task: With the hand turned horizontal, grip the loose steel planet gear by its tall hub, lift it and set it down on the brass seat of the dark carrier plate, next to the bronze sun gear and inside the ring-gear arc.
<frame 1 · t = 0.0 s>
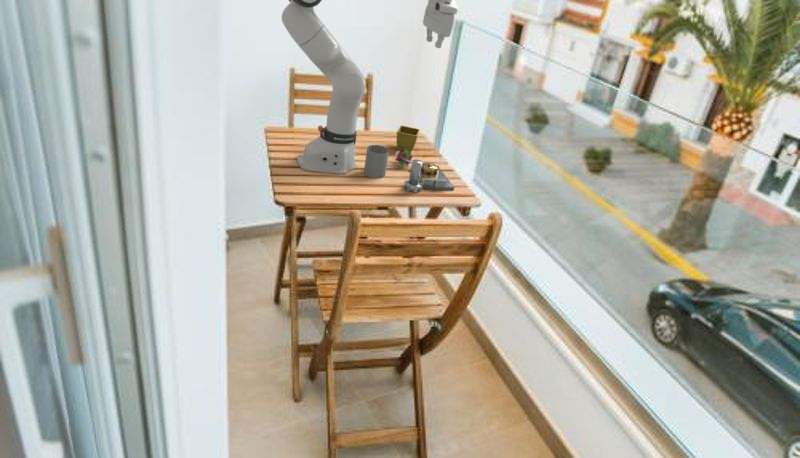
hand: (433, 44, 187), 48 cm above the table, tool pointing down, fingers open, 8 cm apart
cup: (374, 173, 199), on the table
carrier: (431, 179, 202), on the table
sun gear: (428, 173, 207), resting on carrier
geometric puzzle: (402, 165, 210), on the table
flower pot: (405, 150, 225), on the table
planet gear: (412, 188, 193), on the table
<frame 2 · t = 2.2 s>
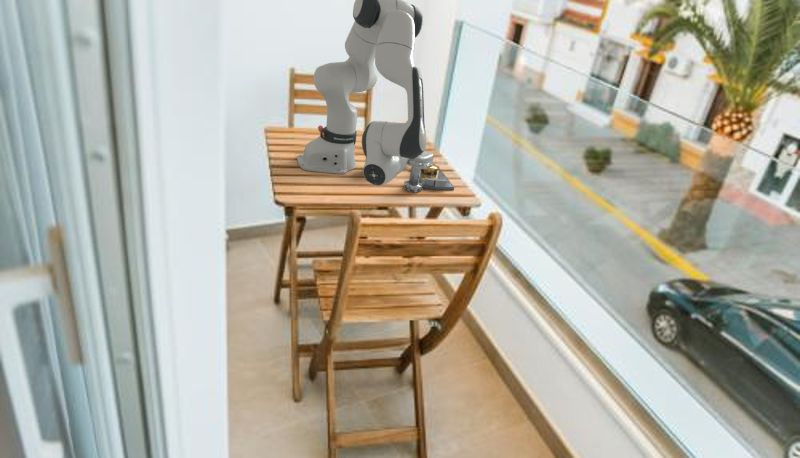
hand: (410, 146, 173), 20 cm above the table, tool horizontal, fingers open, 8 cm apart
nothing on the table moved.
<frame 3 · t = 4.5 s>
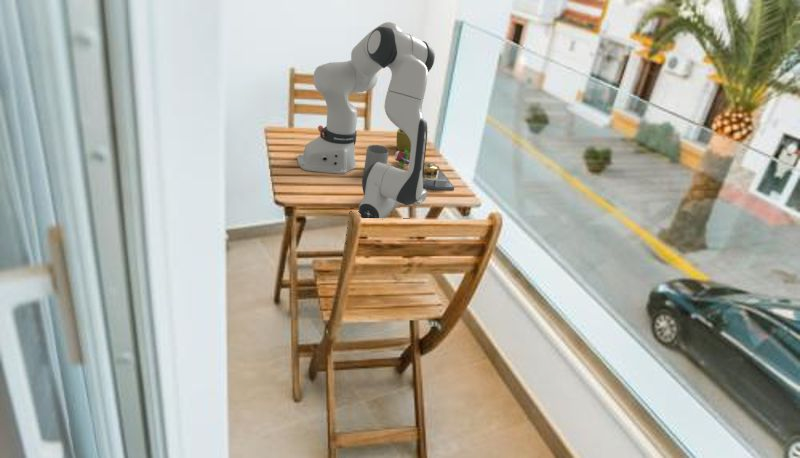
hand: (405, 181, 183), 6 cm above the table, tool horizontal, fingers open, 8 cm apart
nothing on the table moved.
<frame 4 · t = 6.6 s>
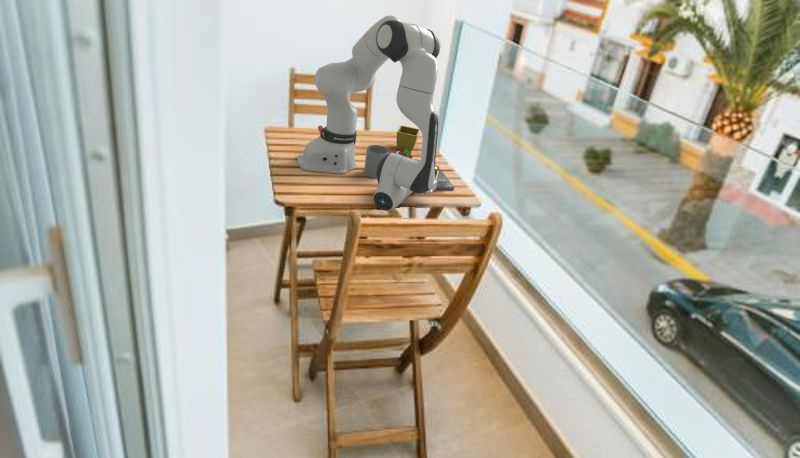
hand: (416, 171, 191), 7 cm above the table, tool horizontal, fingers closed on planet gear, 4 cm apart
planet gear: (412, 188, 193), on the table, touching gripper
everything else where it was.
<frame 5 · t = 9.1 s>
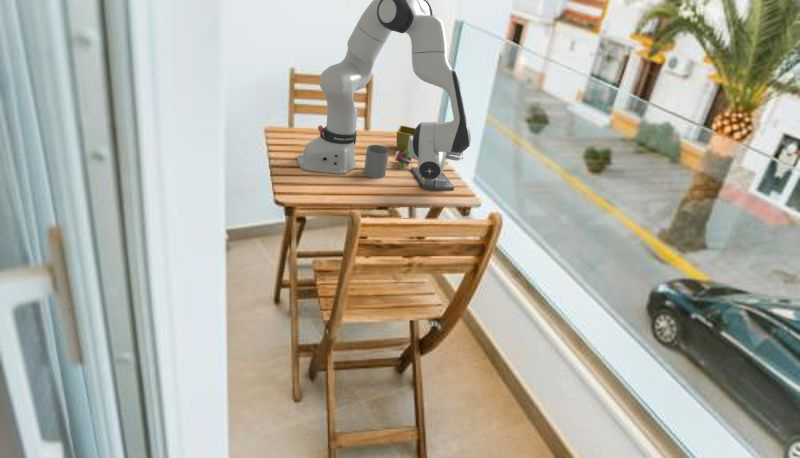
hand: (437, 140, 192), 17 cm above the table, tool horizontal, fingers closed on planet gear, 4 cm apart
planet gear: (433, 158, 195), point 10 cm above the table, touching gripper
everything else where it was.
when the fingers open (9 cm above the table, at t = 11.1 s): planet gear stays where it is, resting on carrier.
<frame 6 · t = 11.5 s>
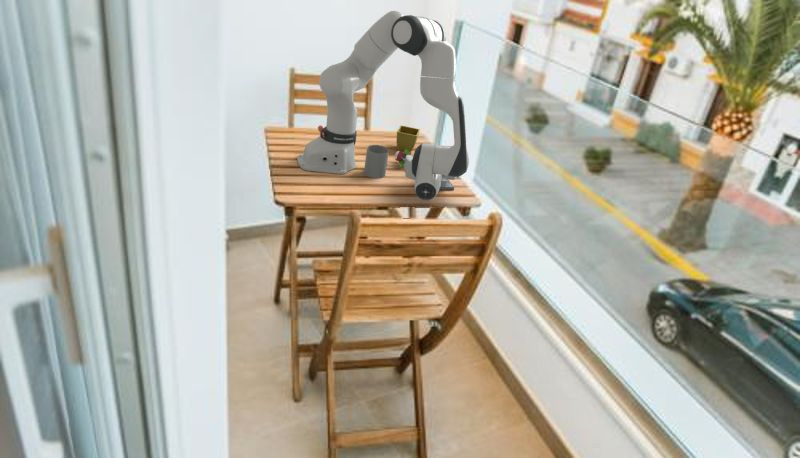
hand: (433, 159, 196), 9 cm above the table, tool horizontal, fingers open, 8 cm apart
planet gear: (429, 178, 199), point 2 cm above the table, touching carrier
everything else where it was.
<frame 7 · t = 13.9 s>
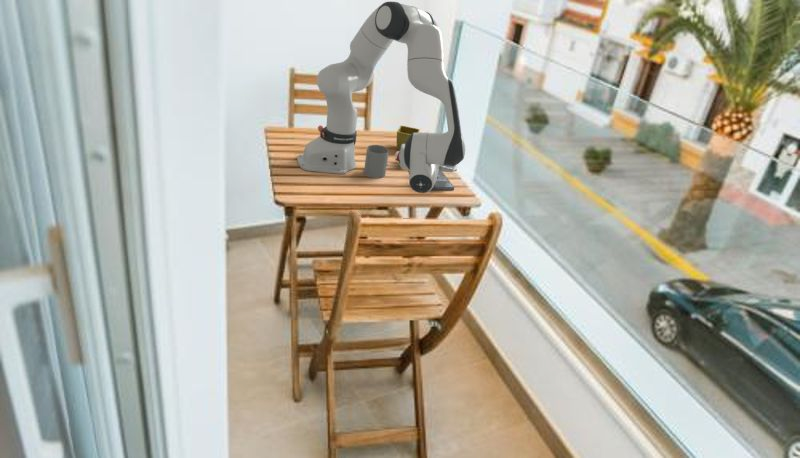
hand: (430, 149, 184), 17 cm above the table, tool horizontal, fingers open, 8 cm apart
nothing on the table moved.
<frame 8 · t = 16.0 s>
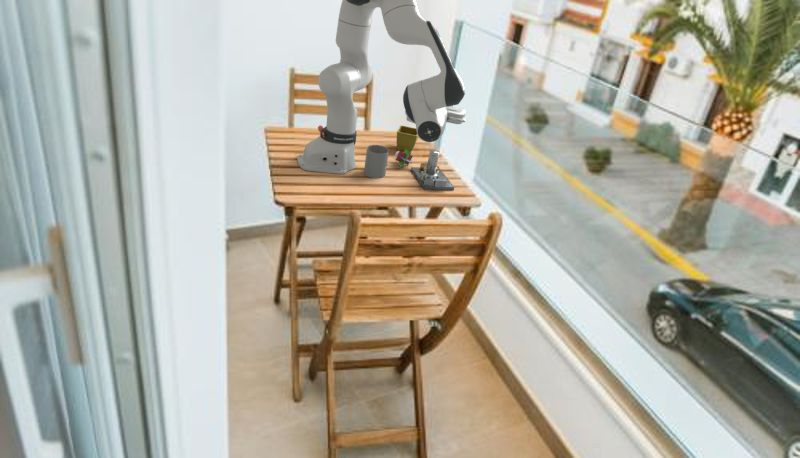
hand: (437, 104, 179), 32 cm above the table, tool horizontal, fingers open, 8 cm apart
nothing on the table moved.
at the end: planet gear 0.1 cm from the target spot on the carrier, point 1.6 cm above the carrier's base; planet gear tilted 1°; the gripper is holding nothing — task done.
